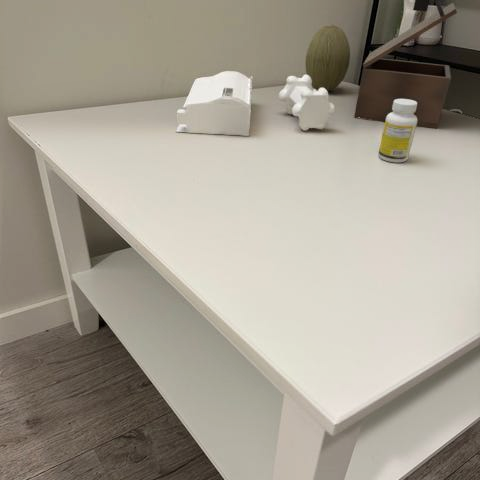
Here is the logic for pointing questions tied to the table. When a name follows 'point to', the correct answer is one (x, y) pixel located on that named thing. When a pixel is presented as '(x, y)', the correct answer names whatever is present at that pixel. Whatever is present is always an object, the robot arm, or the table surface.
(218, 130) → the barrel roof building
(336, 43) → the fruit
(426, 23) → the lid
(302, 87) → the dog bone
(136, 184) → the table surface
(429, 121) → the chest
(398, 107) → the supplement bottle
